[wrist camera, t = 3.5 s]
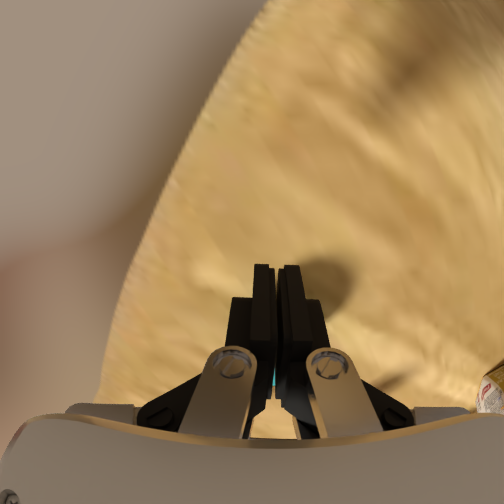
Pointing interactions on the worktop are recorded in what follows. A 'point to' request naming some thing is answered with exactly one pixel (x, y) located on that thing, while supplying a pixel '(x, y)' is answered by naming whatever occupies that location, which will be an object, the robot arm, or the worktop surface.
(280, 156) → the worktop surface
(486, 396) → the juice carton
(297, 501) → the robot arm
